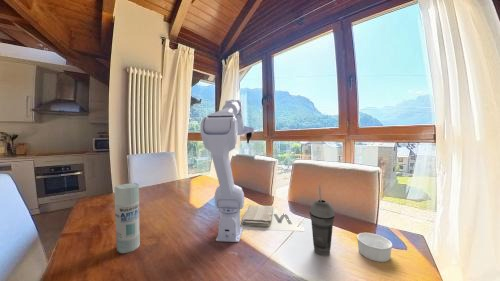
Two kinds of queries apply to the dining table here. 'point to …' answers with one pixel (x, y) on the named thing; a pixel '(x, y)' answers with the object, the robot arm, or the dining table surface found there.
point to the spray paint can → (127, 217)
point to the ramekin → (374, 247)
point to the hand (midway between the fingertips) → (240, 141)
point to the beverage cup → (322, 225)
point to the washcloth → (258, 216)
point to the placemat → (278, 223)
